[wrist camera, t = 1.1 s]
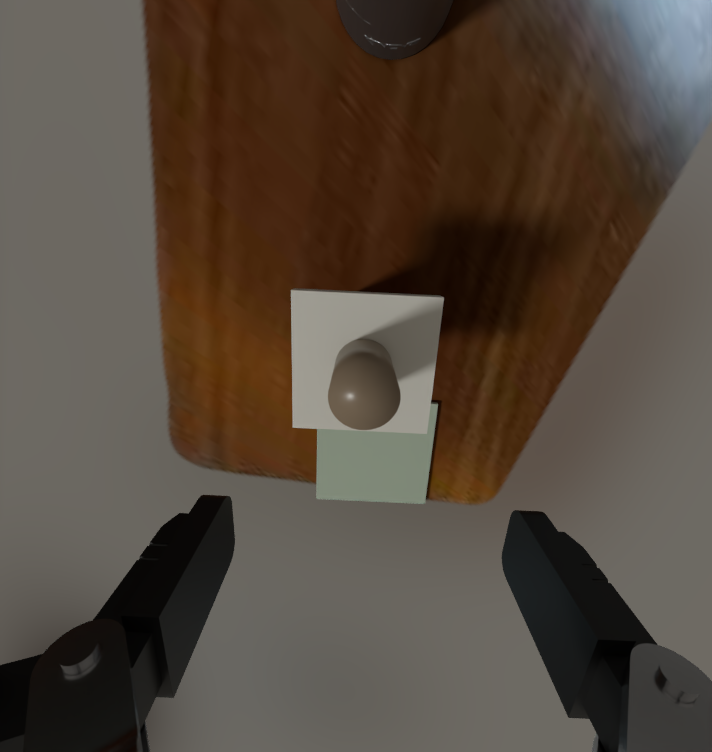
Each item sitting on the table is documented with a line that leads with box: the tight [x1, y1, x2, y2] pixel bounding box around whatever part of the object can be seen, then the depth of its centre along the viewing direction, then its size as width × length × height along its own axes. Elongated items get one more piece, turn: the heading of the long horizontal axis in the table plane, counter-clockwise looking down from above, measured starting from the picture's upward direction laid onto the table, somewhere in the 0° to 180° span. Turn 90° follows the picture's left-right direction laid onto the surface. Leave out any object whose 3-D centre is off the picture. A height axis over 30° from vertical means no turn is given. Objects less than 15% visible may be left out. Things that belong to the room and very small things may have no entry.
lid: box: [291, 288, 444, 434], centre depth 23 cm, size 10×10×7 cm
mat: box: [316, 402, 438, 504], centre depth 41 cm, size 13×13×1 cm
